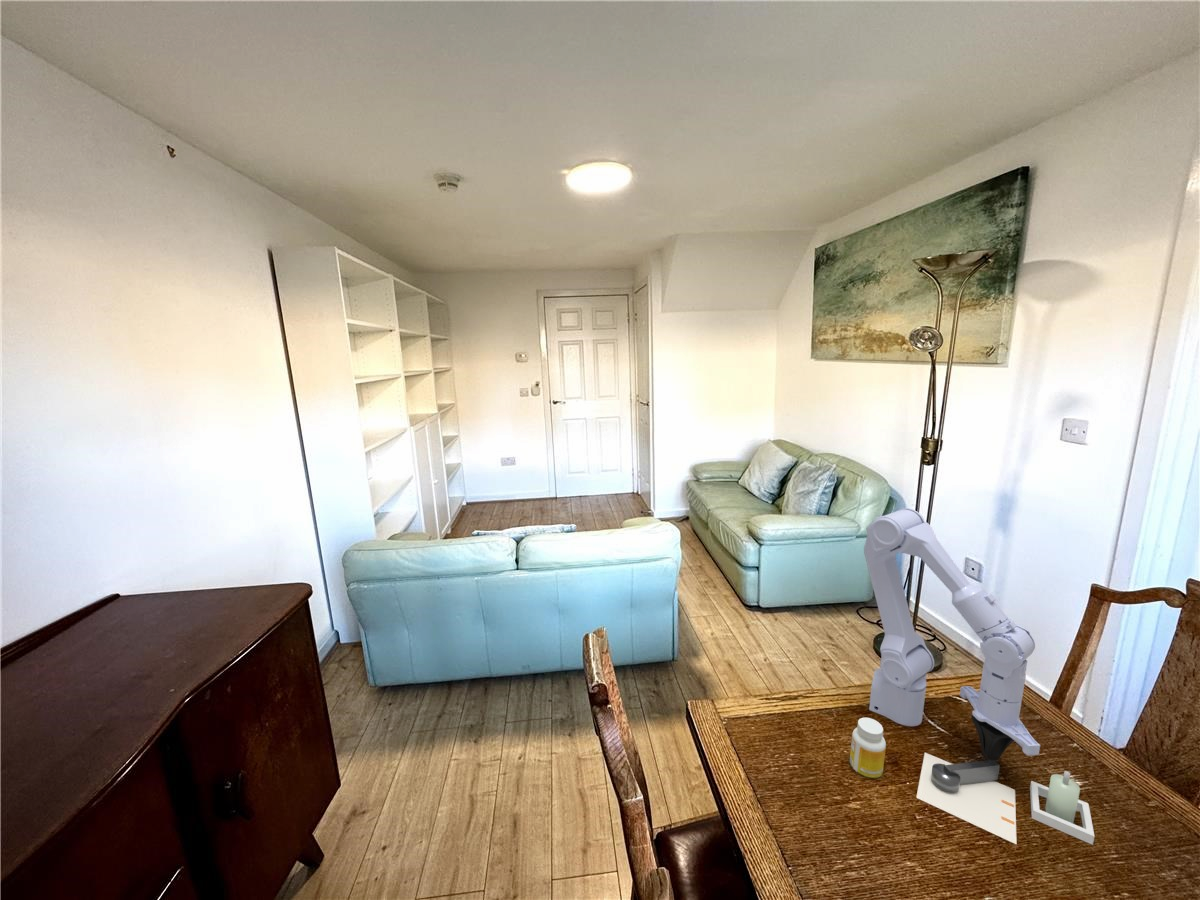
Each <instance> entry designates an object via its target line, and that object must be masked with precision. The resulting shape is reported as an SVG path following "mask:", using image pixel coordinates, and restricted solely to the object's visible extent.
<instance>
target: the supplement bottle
mask: <svg viewBox="0 0 1200 900" xmlns="http://www.w3.org/2000/svg"><path fill="white" fill-rule="evenodd" d="M856 726H857V727H855V728H853V731H852V735H851V741H850V742H851V745H850V755H849V764H850V767H851V768H852V769H853V770H855V772H856V773H858V774H859V775H861V776H863V777H865V778H869V779H878V778H880V777H882V776H883V773H884V764H885V757H886V748H887V744H886V742H887V741H886V740H885V738H884V727H883V725H882V724H881V723H880V722H879V721H877V720H876V719H874V718H870V717H861V718H859V719H858V721H857V725H856Z"/></svg>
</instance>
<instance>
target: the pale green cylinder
mask: <svg viewBox="0 0 1200 900" xmlns="http://www.w3.org/2000/svg"><path fill="white" fill-rule="evenodd" d="M1049 781H1050V782H1049V787H1048V788H1049V790H1048V795H1047V798H1046V802H1045V807H1044V809H1045V810H1044V811H1045V812H1047V813H1049V814H1051V815H1054V816H1056V817H1058V818H1061V819H1063V820H1066V821H1068V822H1070V823H1073V824H1075V823H1074V822H1075V817H1076V812H1077V810H1076V808H1077V803H1078V799H1079V798H1080V797H1079V796H1080V792H1081V788H1080V786H1079V785H1078V783H1077V782H1076V781H1074V780H1073V779H1071V772H1069V771H1067V770H1064V772H1063V774H1059V773H1058V774H1057V773H1055V774H1051V776H1050V779H1049Z"/></svg>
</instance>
